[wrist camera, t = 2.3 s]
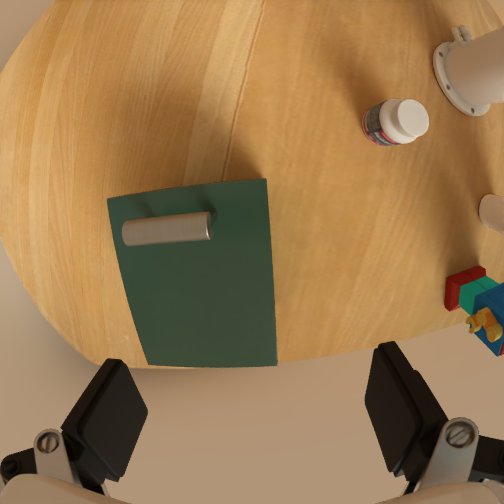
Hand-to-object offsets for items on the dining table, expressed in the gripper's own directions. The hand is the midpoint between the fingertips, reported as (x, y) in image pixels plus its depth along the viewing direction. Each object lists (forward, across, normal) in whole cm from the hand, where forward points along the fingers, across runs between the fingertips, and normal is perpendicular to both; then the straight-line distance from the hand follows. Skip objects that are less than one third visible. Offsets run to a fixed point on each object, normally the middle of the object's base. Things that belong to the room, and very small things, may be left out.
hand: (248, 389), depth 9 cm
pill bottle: (+26, -17, -12) cm, 34 cm away
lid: (+15, +5, +2) cm, 16 cm away
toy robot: (+26, -33, +12) cm, 44 cm away
